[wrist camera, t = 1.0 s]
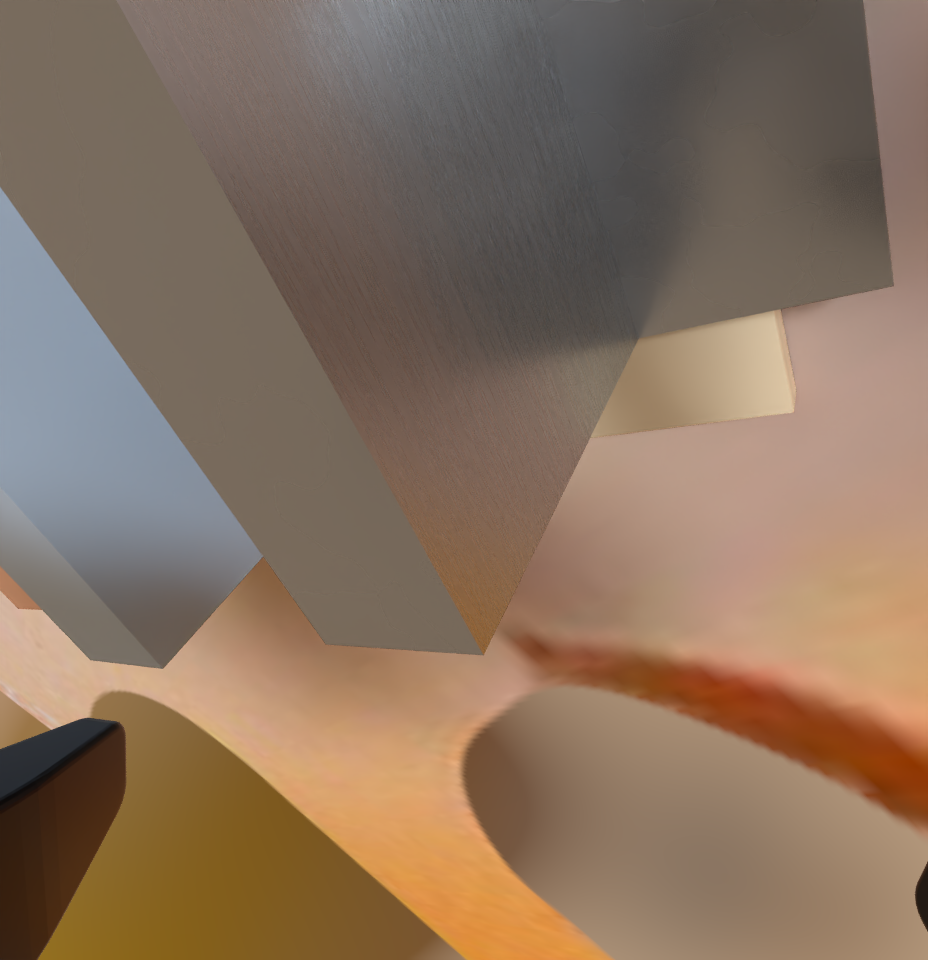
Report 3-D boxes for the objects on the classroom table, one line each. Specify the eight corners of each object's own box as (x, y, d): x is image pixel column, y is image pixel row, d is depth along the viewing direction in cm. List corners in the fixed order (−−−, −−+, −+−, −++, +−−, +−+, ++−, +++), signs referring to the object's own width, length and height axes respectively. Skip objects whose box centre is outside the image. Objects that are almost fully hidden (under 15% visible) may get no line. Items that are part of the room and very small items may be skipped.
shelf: (625, -493, 10) (400, -851, 5) (796, 390, 17) (769, 593, 12) (2, 75, 21) (-255, 132, 16) (260, 467, 28) (134, 588, 23)
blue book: (266, 30, 16) (-286, 167, 8) (429, 370, 20) (163, 668, 12) (200, 75, 17) (-326, 227, 10) (365, 383, 21) (90, 659, 14)
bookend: (826, -349, 9) (718, -1033, 2) (892, 273, 13) (925, 685, 7) (378, -46, 14) (-116, 24, 7) (532, 350, 18) (326, 644, 11)
